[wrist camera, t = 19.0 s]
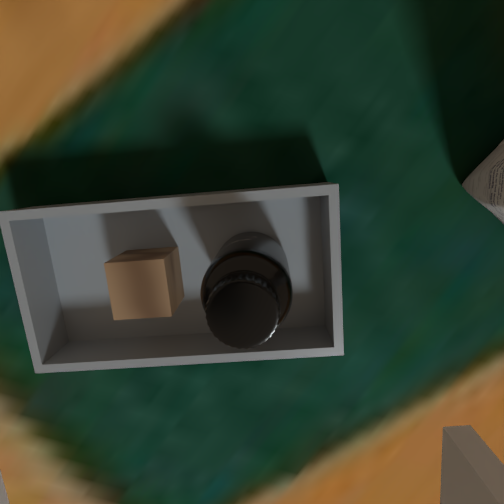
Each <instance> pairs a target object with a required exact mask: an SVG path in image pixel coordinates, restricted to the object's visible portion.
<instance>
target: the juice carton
mask: <svg viewBox="0 0 504 504" xmlns="http://www.w3.org/2000/svg"><path fill="white" fill-rule="evenodd" d="M462 186H463V188H464V189H465V190H466V191H467V192H468V193H469V194H470V195H471V196H472V197H474V198H475V199H476V200H477V201H478V202H479V203H481V204H482V205H483V206H485V207H486V208H487V209H488V210H490V211H491V212H492V213H493V214H494V215H495V216H496V217H497V218H498V219H499V220H500V221H501V222H502V223H503V224H504V140H503V141H502V142H501V143H500V144H499V145H498V146H497V148H496V149H495V150H494V151H493V152H492V153H491V154H490V155H489V156H488V157H487V158H486V159H485V160H484V161H483V162H482V163H480V164H479V165H478V167H477V168H476V169H475V170H474V171H473V172H472V173H471V174H470V175H469V176H468V177H467V178H466V179H465V181H464V182H463V184H462Z"/></svg>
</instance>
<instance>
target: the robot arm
mask: <svg viewBox="0 0 504 504" xmlns="http://www.w3.org/2000/svg"><path fill="white" fill-rule="evenodd" d="M0 504H9V500H8V497H7V493H6V490H5V486H4V482H3V479H2V475H1V471H0ZM440 504H504V465H503V463H502V462H501V461H500V460H499V459H498V458H497V456H496V455H495V454H494V453H493V452H492V450H491V449H490V448H489V447H488V446H487V445H486V443H485V442H484V441H483V440H482V439H481V437H480V436H479V435H478V434H477V433H476V432H475V430H474V429H473V428H472V427H471V426H470V425H466V426H450V427H443V440H442V468H441V495H440Z"/></svg>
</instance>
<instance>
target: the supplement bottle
mask: <svg viewBox="0 0 504 504" xmlns="http://www.w3.org/2000/svg"><path fill="white" fill-rule="evenodd" d="M200 296H201V303H202V306H203V309H204V311H205V313H206V320H207V325H208V326H209V327H210V331H211V332H212V333H213V334H214V336H215V337H216V338H218V340H219V341H221V342H223V343H224V344H225V345H229V346H231V347H232V348H234V347H236V348H238V349H241V348H244V349H248V348H254V347H256V346H260V345H261V344H262V343H265V342H267V340H268V339H269V338H271V337H272V334H273V333H275V332H276V328H277V327H278V326H279V325H280V324H281V323H282V322H283V321H284V320H285V318H286V317H287V315H288V313H289V311H290V308H291V305H292V299H293V289H292V282H291V277H290V271H289V266H288V261H287V257H286V254H285V252H284V250H283V249H282V247H281V246H280V244H279V243H278V242H277V241H276V240H274V239H273V238H272V237H270V236H268V235H266V234H263V233H260V232H243V233H240V234H237V235H235V236H233V237H231V238H230V239H229V240H228V241H226V242H225V243H224V245H223V246H222V247H221V249H220V250H219V252H218V253H217V255H216V256H215V258H214V259H213V261H212V263H211V264H210V266H209V267H208V269H207V271H206V273H205V275H204V277H203V280H202V284H201V290H200Z"/></svg>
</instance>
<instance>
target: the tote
mask: <svg viewBox="0 0 504 504" xmlns="http://www.w3.org/2000/svg"><path fill="white" fill-rule="evenodd" d="M0 226H1V230H2V235H3V239H4V243H5V247H6V251H7V256H8V260H9V264H10V268H11V273H12V277H13V281H14V285H15V290H16V294H17V298H18V302H19V307H20V311H21V315H22V319H23V323H24V328H25V332H26V336H27V340H28V345H29V349H30V353H31V357H32V362H33V366H34V370H35V373H50V372H67V371H84V370H101V369H118V368H135V367H152V366H169V365H186V364H203V363H220V362H237V361H254V360H271V359H288V358H305V357H322V356H339V355H344V346H343V312H342V279H341V245H340V212H339V184H336V183H330V182H323V183H311V184H299V185H287V186H275V187H263V188H251V189H239V190H227V191H214V192H202V193H190V194H178V195H166V196H154V197H142V198H130V199H118V200H105V201H93V202H81V203H69V204H57V205H45V206H34V207H27V208H21V209H14V210H7V211H1V212H0ZM243 232H260V233H263V234H266V235H268V236H270V237H272V238H273V239H274V240H276V241H277V242H278V243H279V244H280V246H281V247H282V249H283V250H284V252H285V254H286V257H287V261H288V266H289V271H290V277H291V282H292V289H293V299H292V305H291V308H290V311H289V313H288V315H287V317H286V318H285V320H284V321H283V322H282V323H281V324H280V325H279V326H278V327H277V328H276V332H275V333H273V334H272V337H271V338H269V339H268V340H267V342H265V343H262V344H261V345H260V346H256V347H254V348H248V349H244V348H241V349H238V348H236V347H234V348H232V347H231V346H229V345H225V344H224V343H223V342H221V341H219V340H218V338H216V337H215V336H214V334H213V333H212V332H211V331H210V327H209V326H208V325H207V320H206V313H205V311H204V309H203V306H202V303H201V296H200V290H201V284H202V280H203V277H204V275H205V273H206V271H207V269H208V267H209V266H210V264H211V263H212V261H213V259H214V258H215V256H216V255H217V253H218V252H219V250H220V249H221V247H222V246H223V245H224V243H225V242H226V241H228V240H229V239H230V238H231V237H233V236H235V235H237V234H240V233H243ZM164 247H178V249H179V257H180V264H181V272H182V280H183V288H184V295H185V297H184V298H183V300H182V301H181V303H180V304H179V306H178V308H177V309H176V311H175V312H174V314H173V315H172V317H156V318H141V319H125V320H114V319H113V313H112V307H111V302H110V296H109V290H108V285H107V279H106V273H105V268H104V263H105V262H107V261H109V260H110V259H112V258H114V257H116V256H117V255H119V254H121V253H123V252H124V251H126V250H137V249H151V248H164Z"/></svg>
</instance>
